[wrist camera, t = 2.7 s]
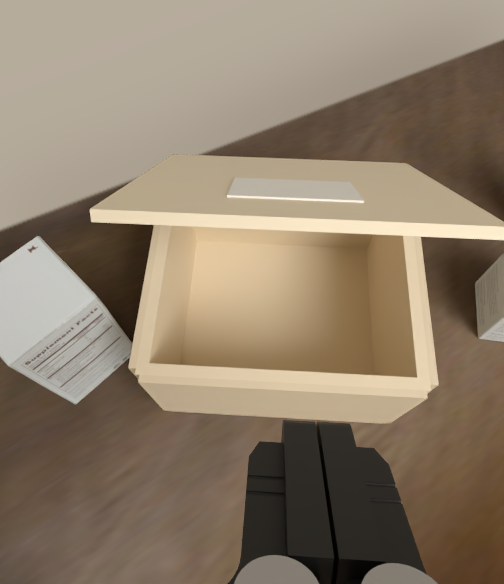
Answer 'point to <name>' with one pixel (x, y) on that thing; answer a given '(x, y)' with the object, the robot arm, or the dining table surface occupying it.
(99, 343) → the supplement box
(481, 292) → the skincare box
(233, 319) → the carton
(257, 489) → the robot arm
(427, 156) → the dining table surface
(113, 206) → the top flap
